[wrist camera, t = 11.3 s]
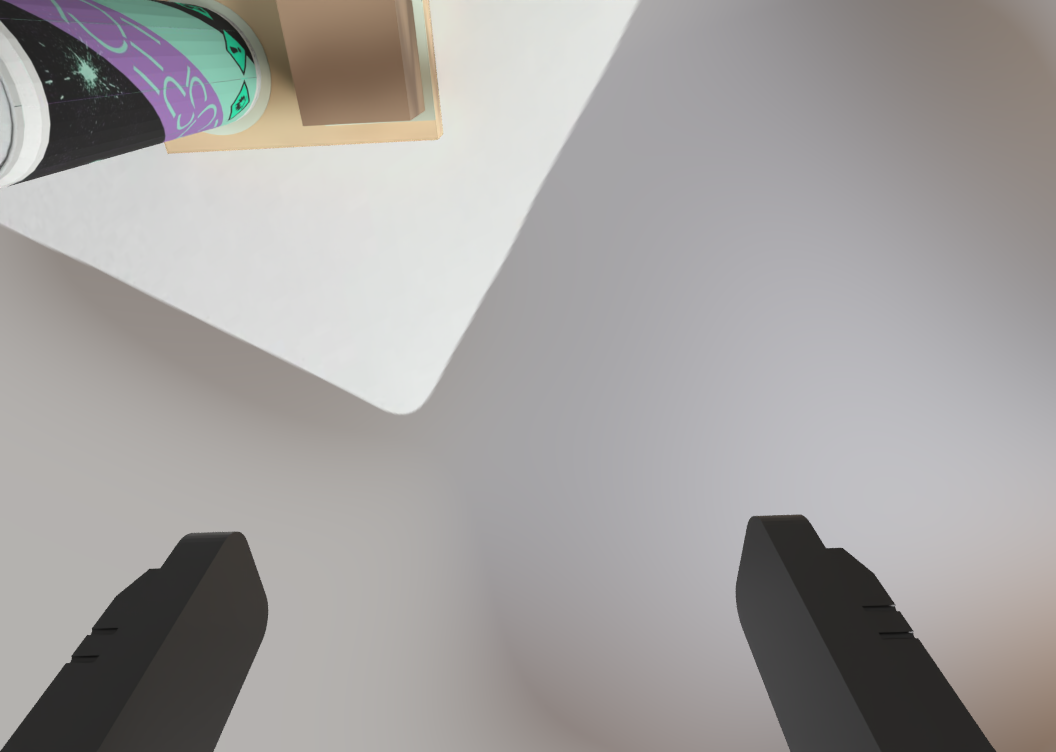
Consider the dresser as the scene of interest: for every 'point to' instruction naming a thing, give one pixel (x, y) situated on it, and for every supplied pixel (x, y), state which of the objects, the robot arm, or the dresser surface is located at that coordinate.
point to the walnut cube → (353, 60)
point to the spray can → (114, 79)
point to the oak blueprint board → (277, 104)
